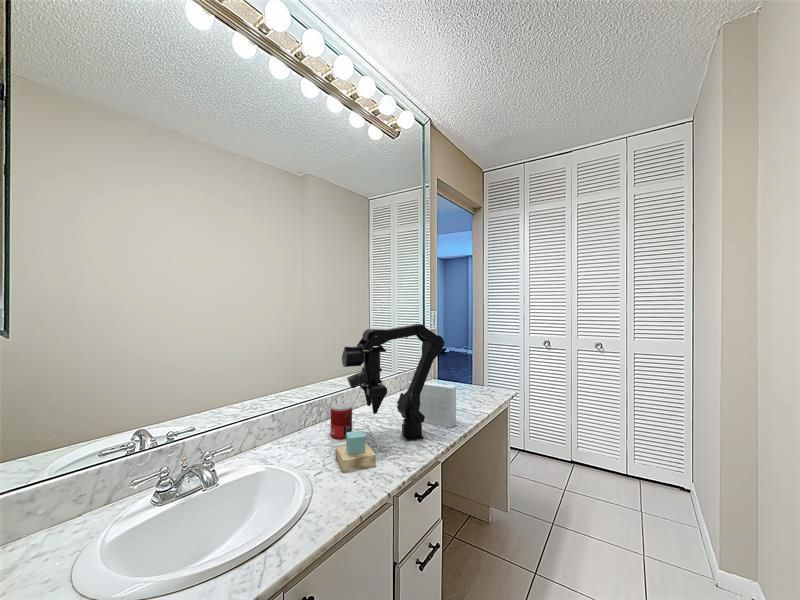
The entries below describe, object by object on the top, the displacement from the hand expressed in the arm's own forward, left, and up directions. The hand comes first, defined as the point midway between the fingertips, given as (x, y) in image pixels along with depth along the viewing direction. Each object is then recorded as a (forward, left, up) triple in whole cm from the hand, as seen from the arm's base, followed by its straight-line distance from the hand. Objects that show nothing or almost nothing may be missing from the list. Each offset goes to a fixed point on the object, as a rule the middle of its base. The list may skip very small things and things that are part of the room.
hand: (371, 409), depth 117 cm
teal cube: (+8, +12, -8) cm, 17 cm away
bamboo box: (+8, +12, -12) cm, 19 cm away
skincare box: (-29, -15, -12) cm, 35 cm away
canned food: (+9, -11, -12) cm, 19 cm away
